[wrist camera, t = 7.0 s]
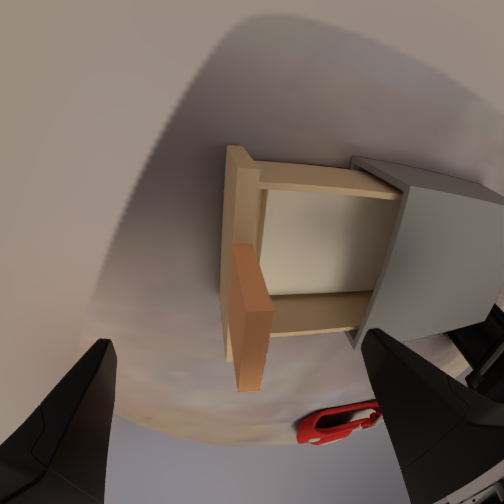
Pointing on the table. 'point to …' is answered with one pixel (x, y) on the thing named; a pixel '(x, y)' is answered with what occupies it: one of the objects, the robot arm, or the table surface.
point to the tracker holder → (336, 433)
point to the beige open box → (297, 253)
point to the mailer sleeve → (435, 255)
